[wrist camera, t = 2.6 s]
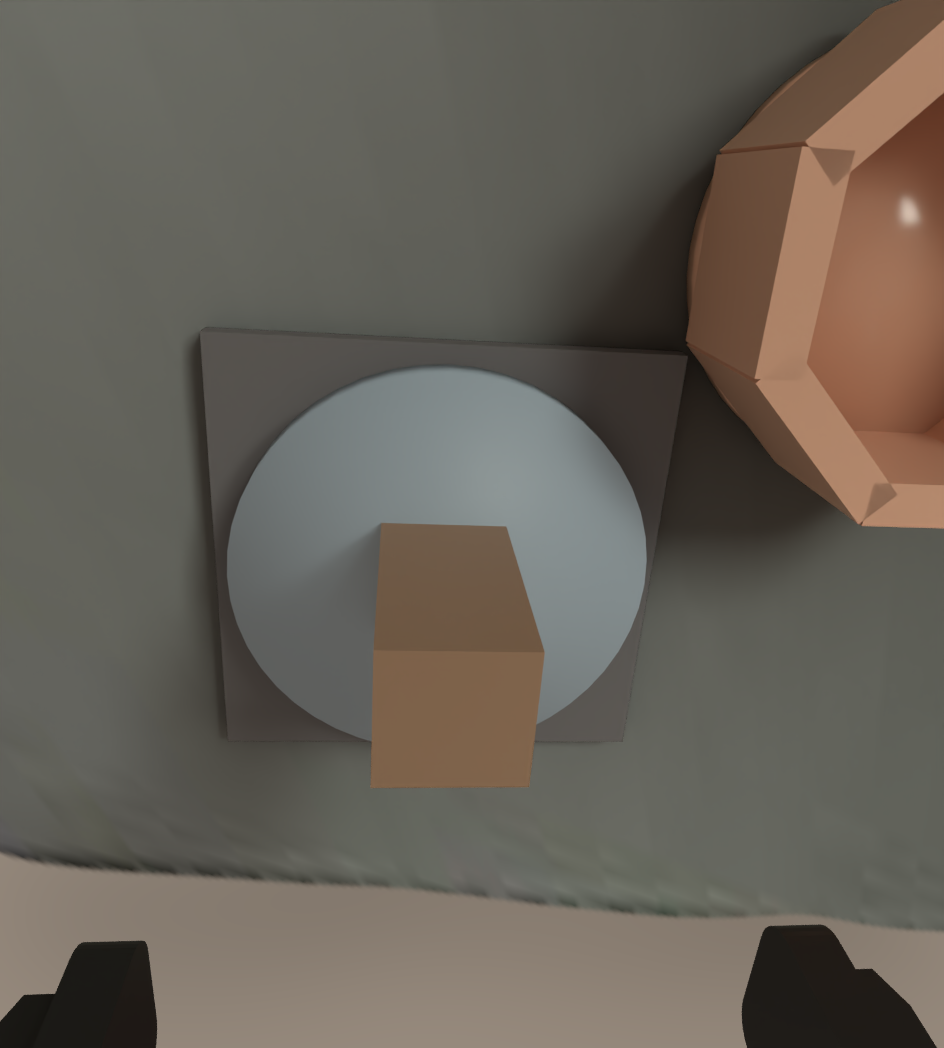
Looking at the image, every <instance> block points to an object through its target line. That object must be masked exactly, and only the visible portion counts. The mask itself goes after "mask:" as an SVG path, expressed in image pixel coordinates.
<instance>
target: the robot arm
mask: <svg viewBox="0 0 944 1048" xmlns="http://www.w3.org/2000/svg"><path fill="white" fill-rule="evenodd" d="M742 1024H743V1032H744V1037H745V1041H746V1045H747V1048H937V1047H936V1046H935V1044H934V1042H933V1041H932V1039H931V1038H930V1036H929V1034H928V1033H927V1031H926V1030H925V1028H924V1027H923V1025H922V1023H921V1022H920V1020H919V1019H918V1017H917V1015H916V1014H915V1012H914V1011H913V1009H912V1007H911V1006H910V1005H909V1004H908V1003H907V1002H906V1001H905V1000H904V999H903V998H902V997H901V996H900V995H899V994H898V993H897V992H895V990H894V989H893V988H891V987H890V986H889V985H888V984H887V983H886V982H885V981H884V980H883V979H882V978H881V977H880V976H879V975H878V974H877V973H876V972H875V971H874V970H873V969H855V968H854V966H853V964H852V962H851V961H850V959H849V957H848V956H847V954H846V952H845V951H844V949H843V947H842V945H841V944H840V942H839V940H838V939H837V937H836V936H835V935H834V933H833V932H832V931H831V930H830V929H829V928H827V927H826V926H824V925H791V926H769V927H767V928H765V930H764V932H763V934H762V936H761V940H760V943H759V947H758V950H757V954H756V957H755V960H754V964H753V967H752V971H751V974H750V978H749V981H748V985H747V988H746V992H745V995H744V999H743V1003H742ZM156 1039H157V1018H156V1009H155V1002H154V994H153V986H152V978H151V970H150V962H149V954H148V947H147V944H146V942H145V941H118V942H83V943H81V944H79V945H78V946H77V948H76V949H75V950H74V952H73V954H72V956H71V958H70V960H69V963H68V965H67V967H66V969H65V972H64V974H63V977H62V979H61V981H60V984H59V986H58V988H57V991H56V993H55V994H37V995H24V996H23V997H22V998H21V999H20V1000H19V1001H18V1002H17V1003H16V1005H15V1006H14V1007H13V1008H12V1009H11V1010H10V1011H9V1012H8V1013H7V1015H6V1016H5V1017H4V1018H3V1019H2V1020H1V1021H0V1048H156Z"/></svg>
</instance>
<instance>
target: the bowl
mask: <svg viewBox="0 0 944 1048" xmlns="http://www.w3.org/2000/svg"><path fill="white" fill-rule="evenodd" d="M719 151H720V152H721V154H719V155H717V157H716V163H715V169H714V175H713V178H712V180H711V182H710V184H709V186H708V188H707V190H706V193H705V196H704V198H703V201H702V204H701V207H700V210H699V213H698V216H697V219H696V222H695V227H694V231H693V236H692V240H691V245H690V249H689V259H688V269H687V308H688V315H689V324H688V330H687V336H686V341H687V342H688V344H687V346H688V347H689V349H690V350H691V351H692V353H693V354H694V355H695V357H696V358H697V359H698V361H699V362H700V363H701V365H702V366H703V368H704V370H705V372H706V374H707V376H708V379H709V380H710V382H711V383H712V385H713V386H714V388H715V389H716V391H717V392H718V394H719V396H720V397H721V398H722V400H723V401H724V402H725V403H726V404H727V405H728V406H729V408H730V409H731V410H732V411H733V412H734V413H735V414H736V415H737V416H738V417H739V418H740V419H741V420H743V421H744V422H745V423H746V424H747V425H748V427H749V428H750V429H751V431H752V432H753V433H754V435H755V436H756V437H757V439H758V440H759V441H760V443H761V444H762V445H763V447H764V448H765V449H766V451H767V452H768V453H769V455H770V456H771V457H772V459H773V460H774V461H775V462H776V463H777V464H778V465H780V466H781V467H782V468H784V469H785V470H786V471H788V472H789V473H790V474H792V475H793V476H794V477H796V478H797V479H798V480H800V481H801V482H802V483H804V484H805V485H806V486H808V487H809V488H810V489H812V490H813V491H814V492H816V493H817V494H819V495H820V496H821V497H823V498H824V499H825V500H827V501H828V502H829V503H831V504H832V505H833V506H835V507H836V508H837V509H839V510H840V511H841V512H843V513H844V514H845V515H847V516H848V517H849V518H851V519H852V520H853V521H855V522H856V523H857V524H860V525H861V526H881V527H916V528H944V0H900V1H898V2H895V3H892V4H890V5H887V6H884V7H882V8H879V9H877V10H876V11H874V12H873V13H872V14H871V15H870V16H869V17H868V18H867V19H866V20H864V21H863V22H862V23H861V24H860V25H859V26H858V27H857V28H855V29H854V30H853V31H852V32H851V33H850V34H849V35H848V36H847V37H845V38H844V39H843V40H842V41H841V42H840V43H839V44H838V45H836V46H835V47H834V48H833V49H832V50H830V51H828V52H827V53H825V54H824V55H822V56H820V57H819V58H817V59H815V60H814V61H812V62H811V63H809V64H807V65H806V66H805V67H803V68H802V69H801V70H799V71H798V72H797V73H796V74H794V75H793V76H792V77H791V78H789V79H788V80H787V81H786V82H784V83H783V84H782V85H781V86H780V87H779V88H778V89H777V90H776V91H775V92H774V93H773V94H772V95H771V96H770V97H769V98H768V99H767V100H766V101H765V102H764V103H763V104H762V105H761V106H760V107H759V108H758V109H757V110H756V111H755V113H754V114H753V115H752V116H751V118H750V119H749V120H748V121H747V123H746V124H745V125H744V126H743V128H742V129H741V130H740V132H739V133H738V134H737V135H736V136H735V137H734V138H733V139H731V140H730V141H729V142H728V143H727V144H726V145H725V146H724V147H723V148H721V149H720V150H719Z"/></svg>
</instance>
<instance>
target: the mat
mask: <svg viewBox="0 0 944 1048" xmlns="http://www.w3.org/2000/svg"><path fill="white" fill-rule="evenodd" d="M200 344H201V358H202V373H203V387H204V402H205V416H206V431H207V445H208V460H209V474H210V489H211V504H212V518H213V533H214V547H215V562H216V576H217V591H218V605H219V620H220V634H221V649H222V663H223V678H224V692H225V707H226V722H227V736H228V741H338V742H372V741H369V740H365V739H362V738H358V737H356V736H353V735H351V734H348V733H346V732H343V731H341V730H338V729H336V728H334V727H332V726H330V725H328V724H327V723H325V722H323V721H321V720H319V719H317V718H316V717H314V716H312V715H311V714H310V713H308V712H307V711H305V710H304V709H303V708H301V707H300V706H298V705H297V704H296V703H294V702H293V701H292V700H291V699H290V698H289V697H288V696H286V695H285V694H284V693H283V692H282V691H281V690H280V689H279V688H278V687H277V686H276V685H275V684H274V683H273V682H272V681H271V679H270V678H269V677H268V676H267V675H266V673H265V672H264V671H263V670H262V669H261V667H260V666H259V664H258V663H257V661H256V660H255V658H254V656H253V655H252V653H251V652H250V650H249V649H248V647H247V645H246V643H245V640H244V638H243V636H242V634H241V632H240V629H239V627H238V625H237V622H236V619H235V615H234V612H233V608H232V605H231V601H230V595H229V587H228V580H227V549H228V543H229V537H230V531H231V525H232V522H233V519H234V516H235V513H236V510H237V507H238V504H239V501H240V498H241V496H242V494H243V492H244V490H245V488H246V486H247V484H248V482H249V480H250V478H251V476H252V474H253V472H254V470H255V469H256V467H257V465H258V463H259V461H260V460H261V458H262V457H263V456H264V454H265V453H266V451H267V450H268V448H269V447H270V446H271V444H272V443H273V441H274V440H275V439H276V438H277V437H278V436H279V435H280V434H281V433H282V431H283V430H284V429H285V428H286V427H287V426H288V425H289V424H290V423H291V422H292V421H293V420H294V419H295V418H297V417H298V416H299V415H300V414H301V413H303V412H304V411H305V410H306V409H308V408H309V407H310V406H311V405H313V404H314V403H315V402H317V401H319V400H320V399H322V398H324V397H325V396H327V395H329V394H330V393H332V392H334V391H335V390H337V389H339V388H341V387H343V386H345V385H348V384H350V383H352V382H355V381H357V380H359V379H362V378H364V377H367V376H370V375H374V374H377V373H381V372H384V371H388V370H391V369H397V368H404V367H410V366H417V365H444V364H451V365H460V366H469V367H478V368H482V369H486V370H490V371H494V372H498V373H502V374H506V375H509V376H511V377H514V378H516V379H519V380H521V381H524V382H526V383H529V384H531V385H534V386H535V387H537V388H539V389H541V390H542V391H544V392H546V393H548V394H549V395H551V396H553V397H555V398H557V399H558V400H559V401H560V402H562V403H563V404H564V405H566V406H567V407H568V408H570V409H571V410H572V411H574V412H575V413H576V414H577V415H578V416H579V417H580V418H581V419H582V420H583V421H584V422H585V423H586V424H587V425H588V426H589V427H590V428H591V429H592V430H593V431H594V432H595V433H596V434H597V435H598V437H599V438H600V439H601V440H602V442H603V443H604V444H605V446H606V447H607V448H608V450H609V451H610V452H611V454H612V455H613V456H614V458H615V459H616V461H617V462H618V463H619V465H620V466H621V468H622V470H623V472H624V474H625V476H626V477H627V479H628V481H629V483H630V485H631V487H632V489H633V492H634V494H635V497H636V500H637V503H638V506H639V509H640V511H641V516H642V521H643V526H644V531H645V536H646V557H647V563H646V573H645V584H644V589H643V593H642V597H641V601H640V605H639V609H638V611H637V614H636V617H635V619H634V622H633V624H632V627H631V629H630V632H629V633H628V635H627V637H626V639H625V641H624V642H623V644H622V646H621V648H620V650H619V652H618V653H617V654H616V656H615V657H614V658H613V660H612V661H611V663H610V664H609V665H608V667H607V668H606V669H605V671H604V672H603V673H602V674H601V675H600V676H599V677H598V678H597V679H596V680H595V682H594V683H593V684H592V685H591V686H590V687H589V688H588V689H587V690H586V691H584V692H583V693H582V694H581V695H580V696H579V697H577V698H576V699H575V700H574V701H573V702H572V703H570V704H569V705H568V706H566V707H565V708H563V709H562V710H560V711H559V712H557V713H556V714H554V715H553V716H551V717H550V718H548V719H546V720H544V721H542V722H540V723H538V724H536V732H535V740H534V742H623V736H624V730H625V724H626V719H627V713H628V707H629V701H630V695H631V689H632V683H633V677H634V671H635V666H636V660H637V654H638V648H639V642H640V636H641V630H642V624H643V618H644V613H645V607H646V601H647V595H648V589H649V583H650V577H651V571H652V565H653V560H654V554H655V548H656V542H657V536H658V530H659V524H660V518H661V512H662V507H663V501H664V495H665V489H666V483H667V477H668V471H669V465H670V459H671V454H672V448H673V442H674V436H675V430H676V424H677V418H678V412H679V406H680V401H681V395H682V389H683V383H684V377H685V371H686V365H687V359H688V356H687V355H686V354H684V353H682V352H681V351H663V350H644V349H624V348H604V347H585V346H565V345H545V344H525V343H506V342H486V341H466V340H447V339H427V338H407V337H388V336H368V335H348V334H329V333H309V332H289V331H269V330H250V329H230V328H210V327H205V328H204V329H202V330H201V331H200Z"/></svg>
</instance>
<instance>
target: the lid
mask: <svg viewBox="0 0 944 1048" xmlns="http://www.w3.org/2000/svg"><path fill="white" fill-rule="evenodd" d="M646 563H647V557H646V536H645V531H644V526H643V521H642V516H641V511H640V509H639V506H638V503H637V500H636V497H635V494H634V492H633V489H632V487H631V485H630V483H629V481H628V479H627V477H626V476H625V474H624V472H623V470H622V468H621V466H620V465H619V463H618V462H617V461H616V459H615V458H614V456H613V455H612V454H611V452H610V451H609V450H608V448H607V447H606V446H605V444H604V443H603V442H602V440H601V439H600V438H599V437H598V435H597V434H596V433H595V432H594V431H593V430H592V429H591V428H590V427H589V426H588V425H587V424H586V423H585V422H584V421H583V420H582V419H581V418H580V417H579V416H578V415H577V414H576V413H575V412H574V411H572V410H571V409H570V408H568V407H567V406H566V405H564V404H563V403H562V402H560V401H559V400H558V399H557V398H555V397H553V396H551V395H549V394H548V393H546V392H544V391H542V390H541V389H539V388H537V387H535V386H534V385H531V384H529V383H526V382H524V381H521V380H519V379H516V378H514V377H511V376H509V375H506V374H502V373H498V372H494V371H490V370H486V369H482V368H478V367H469V366H460V365H451V364H444V365H417V366H410V367H404V368H397V369H391V370H388V371H384V372H381V373H377V374H374V375H370V376H367V377H364V378H362V379H359V380H357V381H355V382H352V383H350V384H348V385H345V386H343V387H341V388H339V389H337V390H335V391H334V392H332V393H330V394H329V395H327V396H325V397H324V398H322V399H320V400H319V401H317V402H315V403H314V404H313V405H311V406H310V407H309V408H308V409H306V410H305V411H304V412H303V413H301V414H300V415H299V416H298V417H297V418H295V419H294V420H293V421H292V422H291V423H290V424H289V425H288V426H287V427H286V428H285V429H284V430H283V431H282V433H281V434H280V435H279V436H278V437H277V438H276V439H275V440H274V441H273V443H272V444H271V446H270V447H269V448H268V450H267V451H266V453H265V454H264V456H263V457H262V458H261V460H260V461H259V463H258V465H257V467H256V469H255V470H254V472H253V474H252V476H251V478H250V480H249V482H248V484H247V486H246V488H245V490H244V492H243V494H242V496H241V498H240V501H239V504H238V507H237V510H236V513H235V516H234V519H233V522H232V525H231V531H230V537H229V543H228V549H227V580H228V587H229V595H230V601H231V605H232V608H233V612H234V615H235V619H236V622H237V625H238V627H239V629H240V632H241V634H242V636H243V638H244V640H245V643H246V645H247V647H248V649H249V650H250V652H251V653H252V655H253V656H254V658H255V660H256V661H257V663H258V664H259V666H260V667H261V669H262V670H263V671H264V672H265V673H266V675H267V676H268V677H269V678H270V679H271V681H272V682H273V683H274V684H275V685H276V686H277V687H278V688H279V689H280V690H281V691H282V692H283V693H284V694H285V695H286V696H288V697H289V698H290V699H291V700H292V701H293V702H294V703H296V704H297V705H298V706H300V707H301V708H303V709H304V710H305V711H307V712H308V713H310V714H311V715H312V716H314V717H316V718H317V719H319V720H321V721H323V722H325V723H327V724H328V725H330V726H332V727H334V728H336V729H338V730H341V731H343V732H346V733H348V734H351V735H353V736H356V737H358V738H362V739H365V740H369V741H372V745H371V788H451V787H529V783H530V774H531V766H532V757H533V749H534V740H535V732H536V724H538V723H540V722H542V721H544V720H546V719H548V718H550V717H551V716H553V715H554V714H556V713H557V712H559V711H560V710H562V709H563V708H565V707H566V706H568V705H569V704H570V703H572V702H573V701H574V700H575V699H576V698H577V697H579V696H580V695H581V694H582V693H583V692H584V691H586V690H587V689H588V688H589V687H590V686H591V685H592V684H593V683H594V682H595V680H596V679H597V678H598V677H599V676H600V675H601V674H602V673H603V672H604V671H605V669H606V668H607V667H608V665H609V664H610V663H611V661H612V660H613V658H614V657H615V656H616V654H617V653H618V652H619V650H620V648H621V646H622V644H623V642H624V641H625V639H626V637H627V635H628V633H629V632H630V629H631V627H632V624H633V622H634V619H635V617H636V614H637V611H638V609H639V605H640V601H641V597H642V593H643V589H644V584H645V573H646Z"/></svg>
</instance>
